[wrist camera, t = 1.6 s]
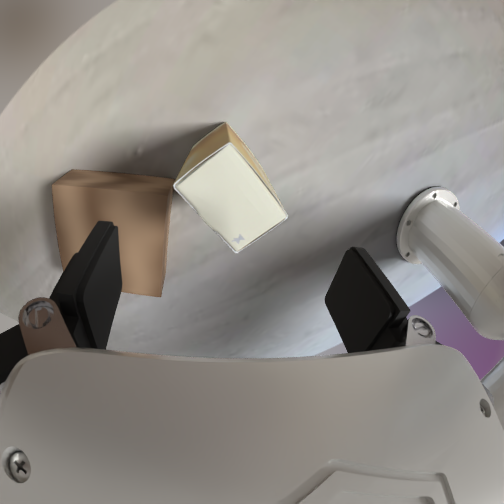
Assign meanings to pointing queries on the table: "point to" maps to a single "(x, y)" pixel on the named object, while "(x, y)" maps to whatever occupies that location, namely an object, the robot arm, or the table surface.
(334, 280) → the robot arm
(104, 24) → the table surface
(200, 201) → the skincare box
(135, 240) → the walnut block
